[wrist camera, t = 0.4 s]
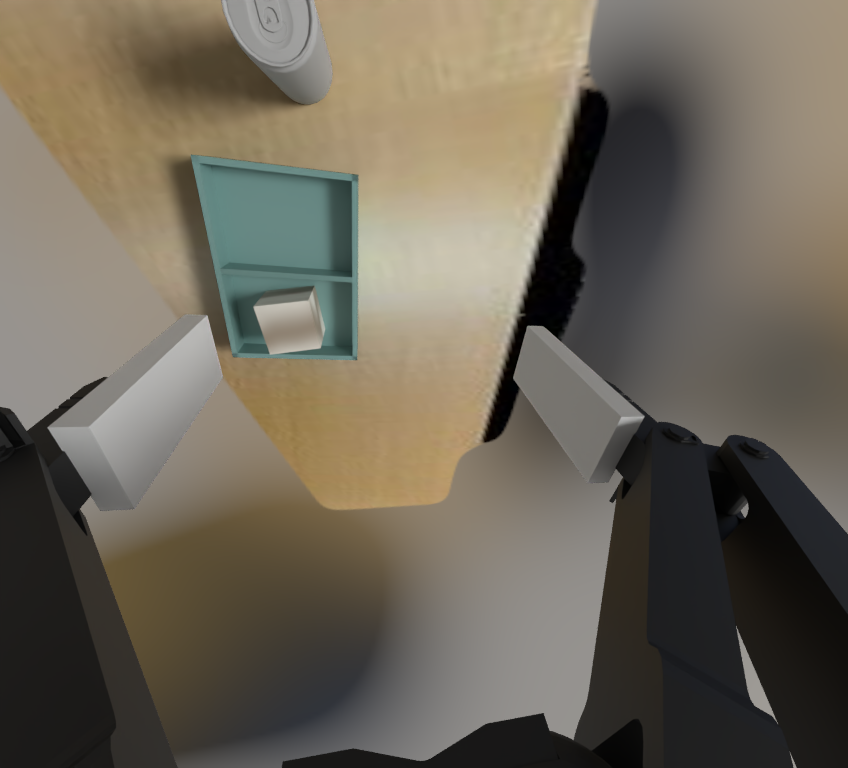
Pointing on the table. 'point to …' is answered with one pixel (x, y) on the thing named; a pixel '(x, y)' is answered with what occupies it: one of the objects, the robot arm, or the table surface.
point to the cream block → (290, 319)
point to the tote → (282, 247)
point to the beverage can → (284, 44)
